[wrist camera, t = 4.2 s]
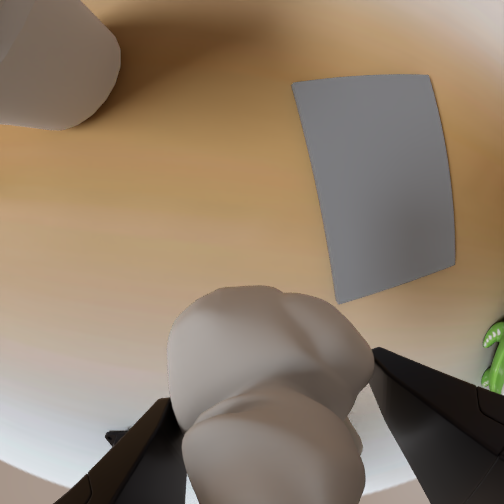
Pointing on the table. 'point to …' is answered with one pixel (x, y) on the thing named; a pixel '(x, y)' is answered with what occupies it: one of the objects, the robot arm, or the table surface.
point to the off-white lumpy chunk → (268, 397)
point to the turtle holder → (495, 359)
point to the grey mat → (379, 179)
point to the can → (54, 63)
